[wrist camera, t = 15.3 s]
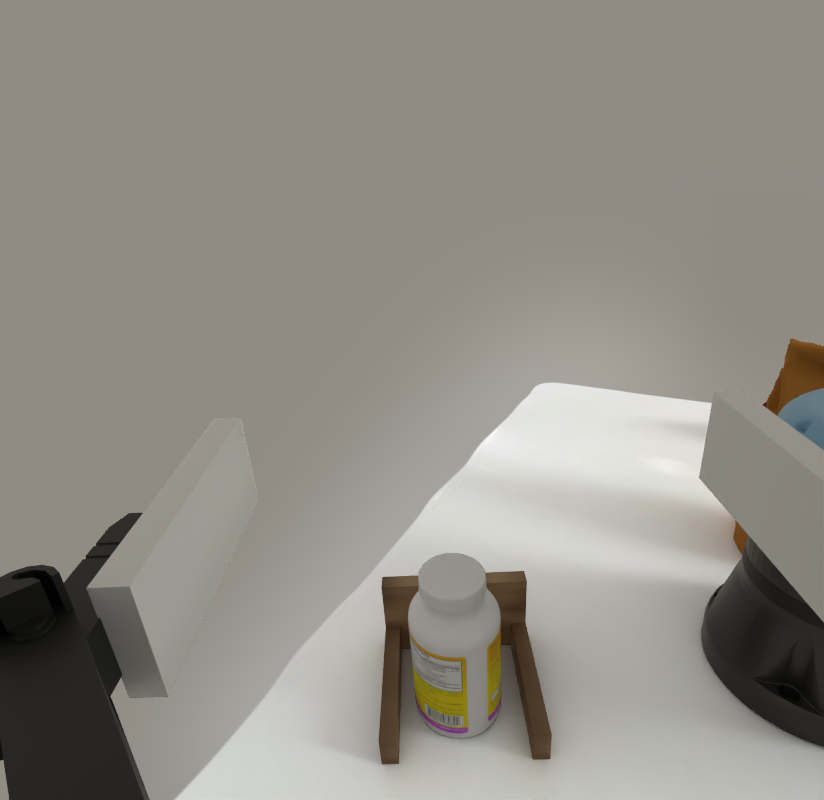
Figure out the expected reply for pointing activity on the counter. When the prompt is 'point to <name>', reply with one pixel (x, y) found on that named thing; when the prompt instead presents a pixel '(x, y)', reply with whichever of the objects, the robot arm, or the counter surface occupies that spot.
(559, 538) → the counter surface
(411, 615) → the supplement bottle
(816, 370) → the coffee package
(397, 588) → the u-shaped wooden bracket
